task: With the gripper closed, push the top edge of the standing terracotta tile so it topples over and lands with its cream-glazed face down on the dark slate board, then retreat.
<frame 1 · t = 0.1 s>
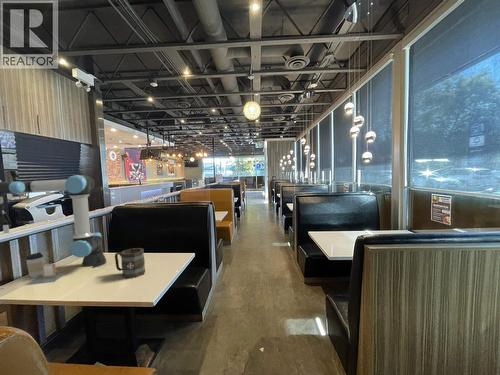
coffee cup: (36, 276, 170), on the table
mug: (130, 274, 165), on the table
tile: (49, 276, 165), point 1 cm above the table, touching board
board: (47, 280, 162), on the table
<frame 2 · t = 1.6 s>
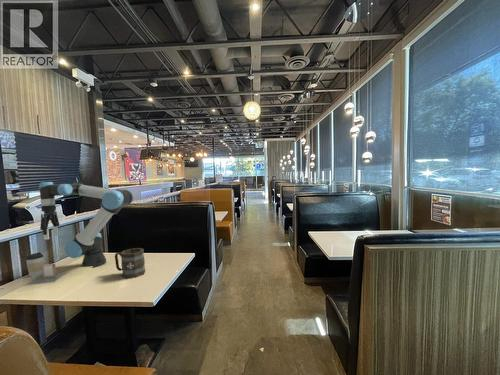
hand: (51, 237, 176), 24 cm above the table, fingers open, 10 cm apart
nothing on the table moved.
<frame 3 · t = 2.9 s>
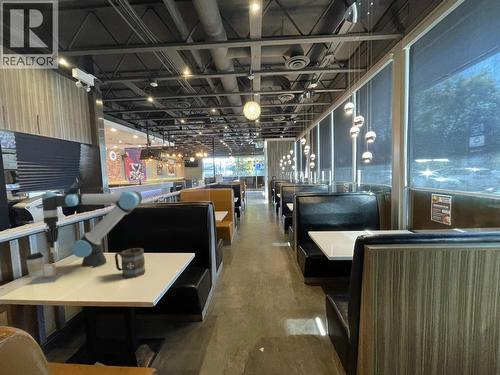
hand: (53, 252, 171), 15 cm above the table, fingers closed
nothing on the table moved.
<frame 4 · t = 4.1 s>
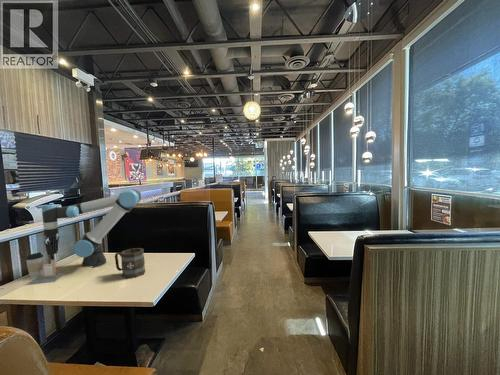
hand: (53, 264, 170), 8 cm above the table, fingers closed
nothing on the table moved.
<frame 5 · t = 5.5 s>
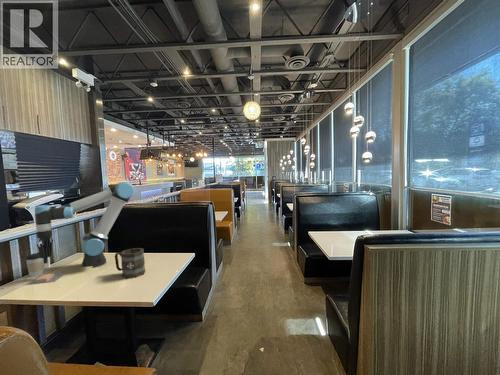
hand: (47, 267, 163), 8 cm above the table, fingers closed
tile: (48, 275, 164), point 2 cm above the table, tilted 90°, touching board
everything else where it was.
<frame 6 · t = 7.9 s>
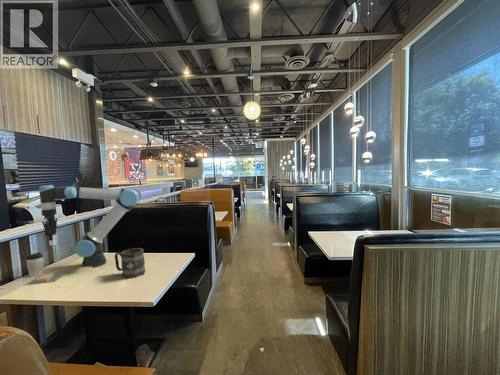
hand: (52, 245, 169), 20 cm above the table, fingers closed
nothing on the table moved.
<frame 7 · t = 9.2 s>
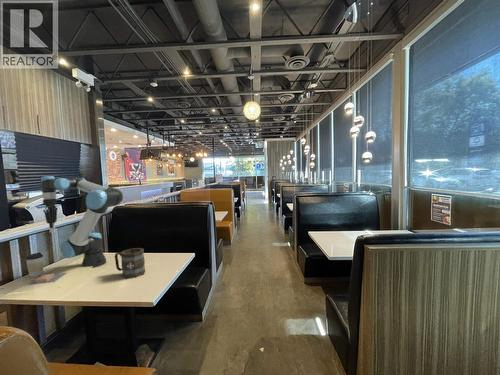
hand: (52, 232, 181), 26 cm above the table, fingers closed
nothing on the table moved.
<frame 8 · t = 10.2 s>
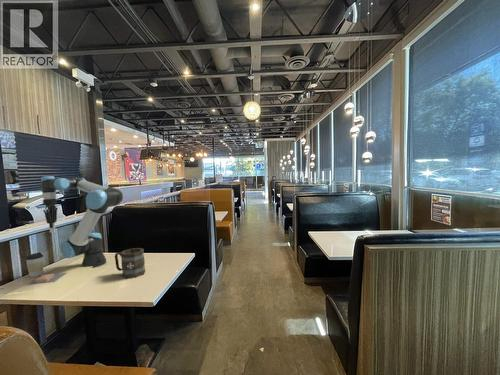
hand: (52, 232, 181), 26 cm above the table, fingers closed
nothing on the table moved.
at the end: tile tilted 90°; tile inside the target area on the board (1.9 cm from its centre), point 2.2 cm above the board's base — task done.
